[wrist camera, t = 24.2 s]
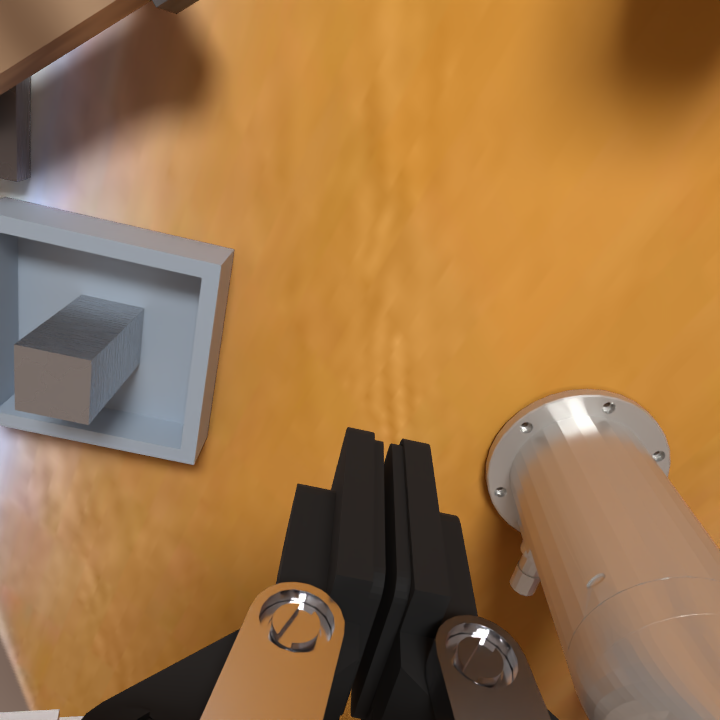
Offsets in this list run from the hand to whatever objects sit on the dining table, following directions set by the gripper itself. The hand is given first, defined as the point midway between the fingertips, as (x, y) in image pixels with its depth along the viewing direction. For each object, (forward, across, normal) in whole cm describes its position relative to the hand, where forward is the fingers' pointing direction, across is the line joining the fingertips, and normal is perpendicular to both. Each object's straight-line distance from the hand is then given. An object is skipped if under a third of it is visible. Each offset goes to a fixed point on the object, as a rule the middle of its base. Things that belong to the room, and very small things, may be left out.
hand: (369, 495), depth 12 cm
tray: (+27, +15, +11) cm, 33 cm away
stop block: (+27, +15, +11) cm, 32 cm away
